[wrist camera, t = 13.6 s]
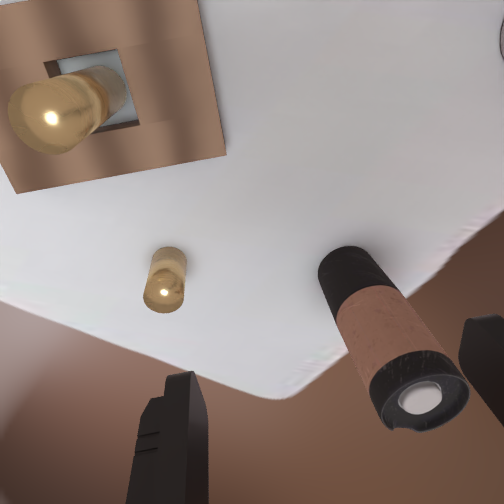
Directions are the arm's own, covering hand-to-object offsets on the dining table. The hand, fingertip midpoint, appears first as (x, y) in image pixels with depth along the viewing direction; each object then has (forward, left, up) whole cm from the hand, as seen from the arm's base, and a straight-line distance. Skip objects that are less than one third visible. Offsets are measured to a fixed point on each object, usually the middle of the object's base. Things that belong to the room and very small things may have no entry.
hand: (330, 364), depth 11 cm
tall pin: (+12, -6, -30) cm, 33 cm away
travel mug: (-10, +19, -30) cm, 37 cm away
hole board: (+12, -6, -30) cm, 33 cm away
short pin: (+11, +13, -30) cm, 35 cm away
